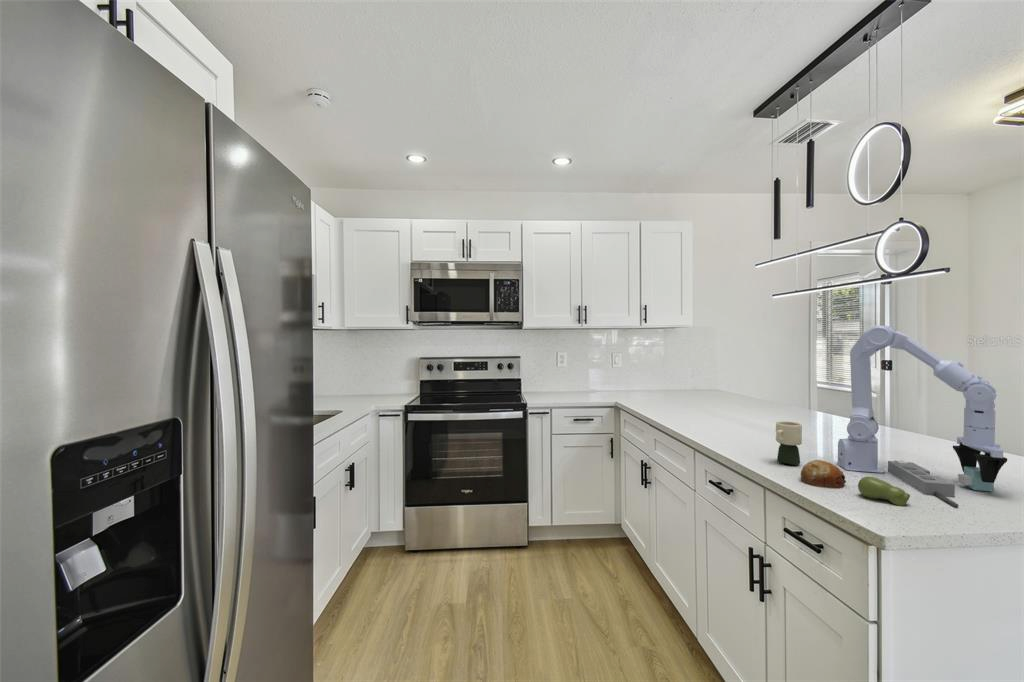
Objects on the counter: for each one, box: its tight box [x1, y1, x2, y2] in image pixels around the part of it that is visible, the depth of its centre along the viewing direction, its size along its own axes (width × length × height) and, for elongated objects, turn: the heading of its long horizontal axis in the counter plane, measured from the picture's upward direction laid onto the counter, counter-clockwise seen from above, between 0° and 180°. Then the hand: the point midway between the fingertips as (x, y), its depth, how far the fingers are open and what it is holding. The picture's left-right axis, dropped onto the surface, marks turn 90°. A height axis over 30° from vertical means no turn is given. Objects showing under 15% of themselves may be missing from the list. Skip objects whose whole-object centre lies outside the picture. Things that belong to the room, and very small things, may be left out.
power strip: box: [887, 459, 959, 508], centre depth 119 cm, size 6×28×4 cm, turn 161°
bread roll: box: [800, 459, 847, 489], centre depth 124 cm, size 10×10×8 cm
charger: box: [957, 466, 995, 492], centre depth 118 cm, size 6×4×5 cm
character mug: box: [775, 420, 803, 466], centre depth 141 cm, size 11×7×13 cm, turn 115°
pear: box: [857, 476, 911, 507], centre depth 111 cm, size 6×5×10 cm
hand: (978, 477), depth 118 cm, fingers open, 7 cm apart
